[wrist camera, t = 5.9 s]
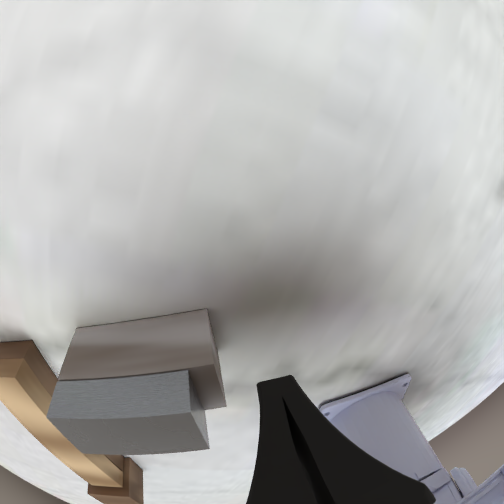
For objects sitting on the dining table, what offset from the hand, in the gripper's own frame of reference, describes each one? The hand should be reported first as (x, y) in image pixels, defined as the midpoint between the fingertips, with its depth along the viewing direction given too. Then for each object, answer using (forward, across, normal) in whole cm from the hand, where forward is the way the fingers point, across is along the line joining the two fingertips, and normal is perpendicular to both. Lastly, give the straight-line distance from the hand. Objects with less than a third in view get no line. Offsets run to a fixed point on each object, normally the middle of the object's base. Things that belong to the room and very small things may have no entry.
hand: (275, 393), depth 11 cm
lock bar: (+1, +6, 0) cm, 6 cm away
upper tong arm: (+3, +14, +6) cm, 16 cm away
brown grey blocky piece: (+4, +9, +7) cm, 13 cm away
